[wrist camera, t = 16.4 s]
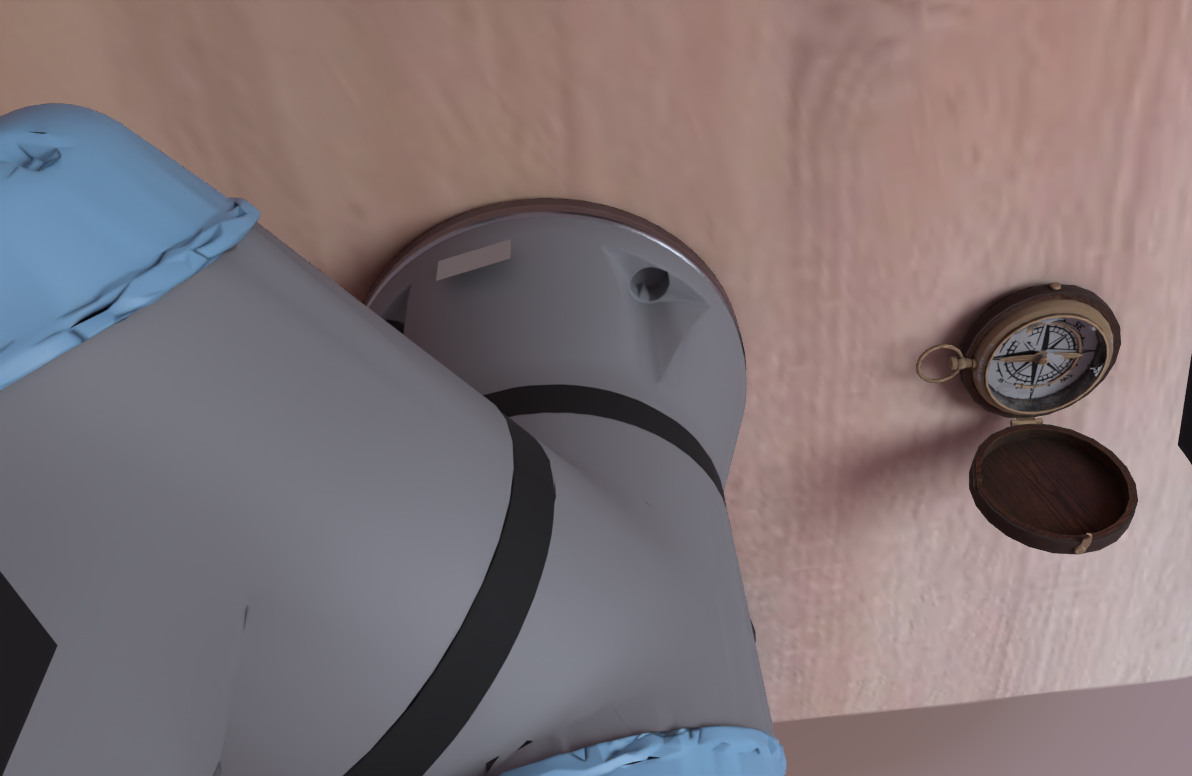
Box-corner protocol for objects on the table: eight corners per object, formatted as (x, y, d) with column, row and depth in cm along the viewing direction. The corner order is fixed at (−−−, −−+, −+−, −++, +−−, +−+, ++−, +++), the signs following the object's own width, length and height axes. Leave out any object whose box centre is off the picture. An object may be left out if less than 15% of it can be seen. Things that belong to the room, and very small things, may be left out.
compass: (1129, 272, 43) (1223, 388, 37) (1082, 431, 48) (1158, 555, 42) (920, 284, 43) (982, 402, 37) (895, 442, 47) (946, 569, 42)
